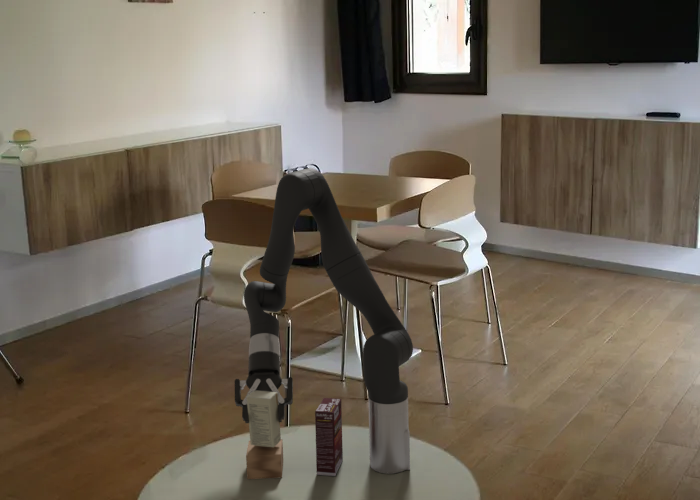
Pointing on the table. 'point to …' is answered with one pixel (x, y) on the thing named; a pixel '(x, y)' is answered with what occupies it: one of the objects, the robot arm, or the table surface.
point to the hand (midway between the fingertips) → (263, 421)
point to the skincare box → (263, 418)
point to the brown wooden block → (264, 461)
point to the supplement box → (328, 436)
